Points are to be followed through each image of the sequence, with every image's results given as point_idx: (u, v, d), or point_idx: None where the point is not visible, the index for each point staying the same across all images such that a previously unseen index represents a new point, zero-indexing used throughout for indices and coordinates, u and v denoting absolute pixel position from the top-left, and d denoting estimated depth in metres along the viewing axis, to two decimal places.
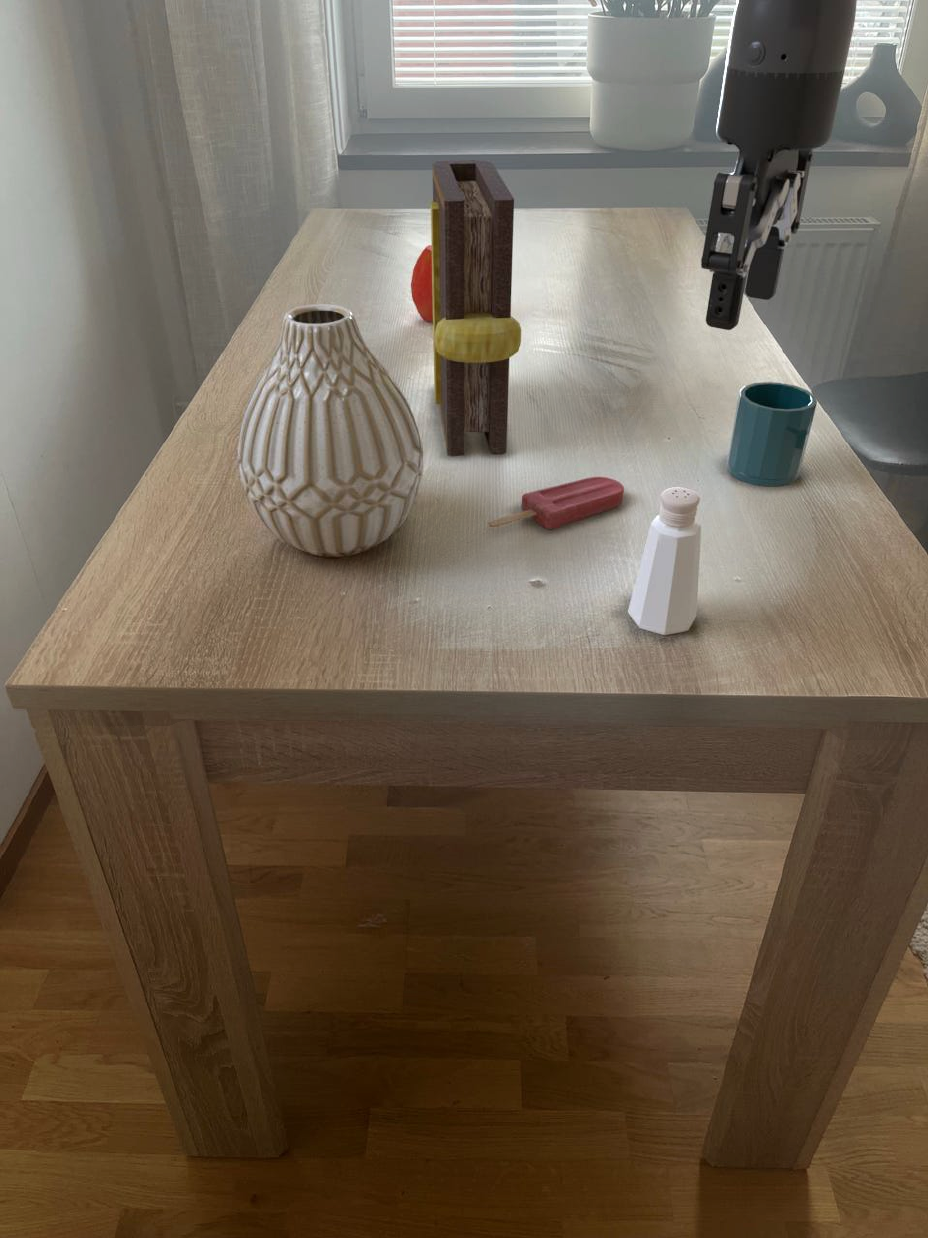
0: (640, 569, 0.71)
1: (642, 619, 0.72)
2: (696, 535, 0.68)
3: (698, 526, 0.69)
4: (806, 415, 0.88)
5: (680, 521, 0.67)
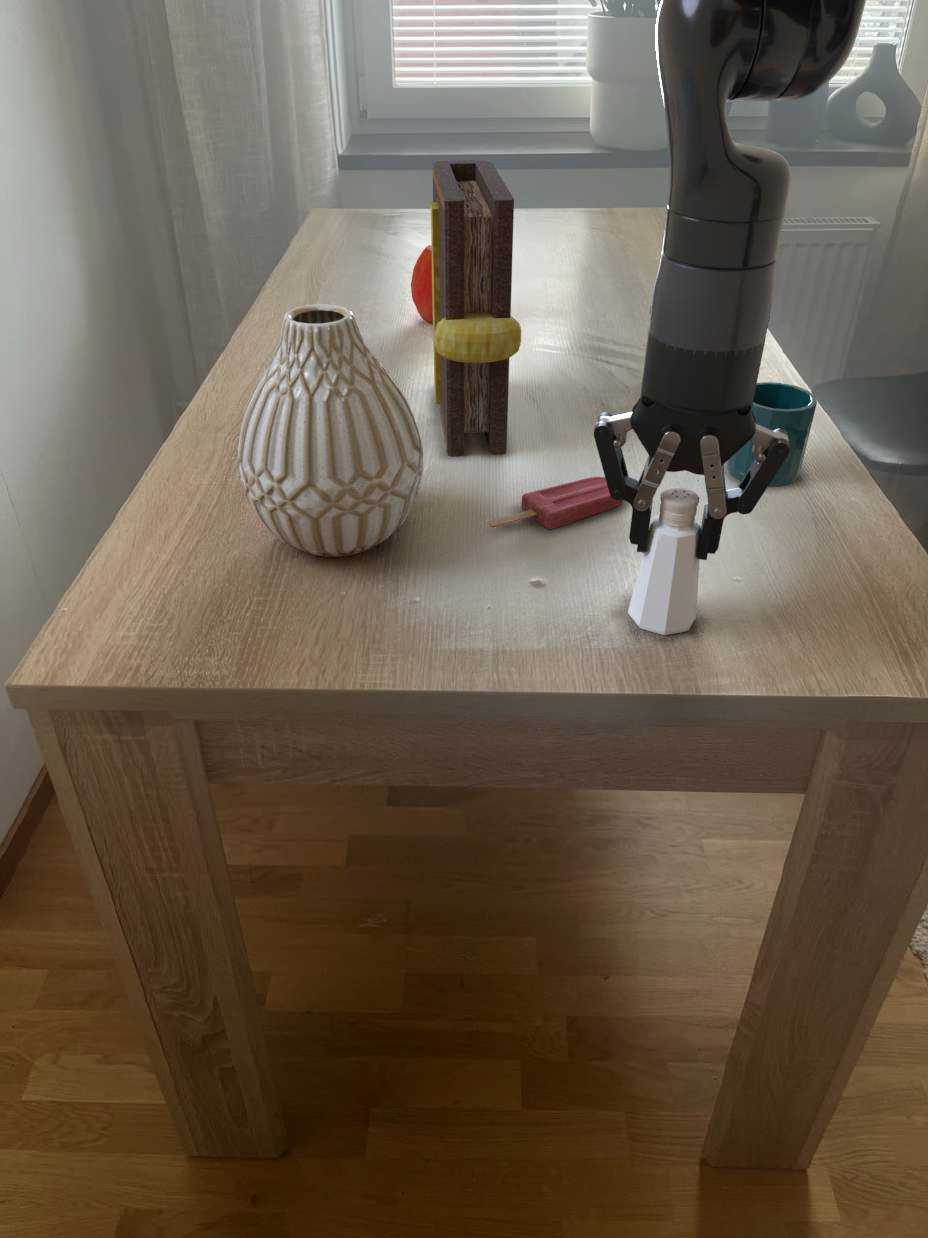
0: (640, 569, 0.71)
1: (642, 619, 0.72)
2: (696, 535, 0.68)
3: (698, 526, 0.69)
4: (806, 415, 0.88)
5: (680, 520, 0.67)
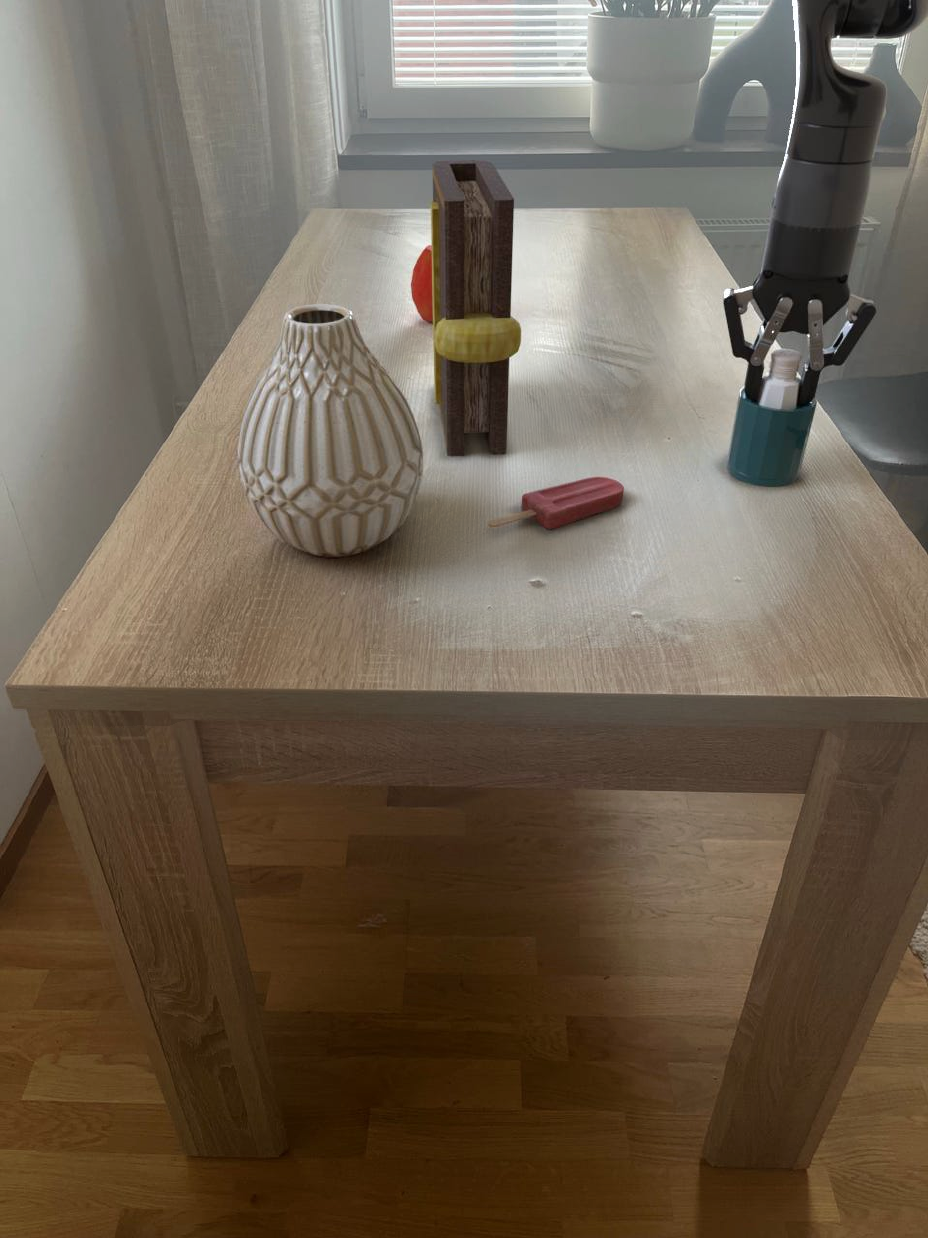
0: None
1: None
2: (798, 385, 0.88)
3: (799, 379, 0.88)
4: (806, 415, 0.88)
5: (787, 373, 0.87)
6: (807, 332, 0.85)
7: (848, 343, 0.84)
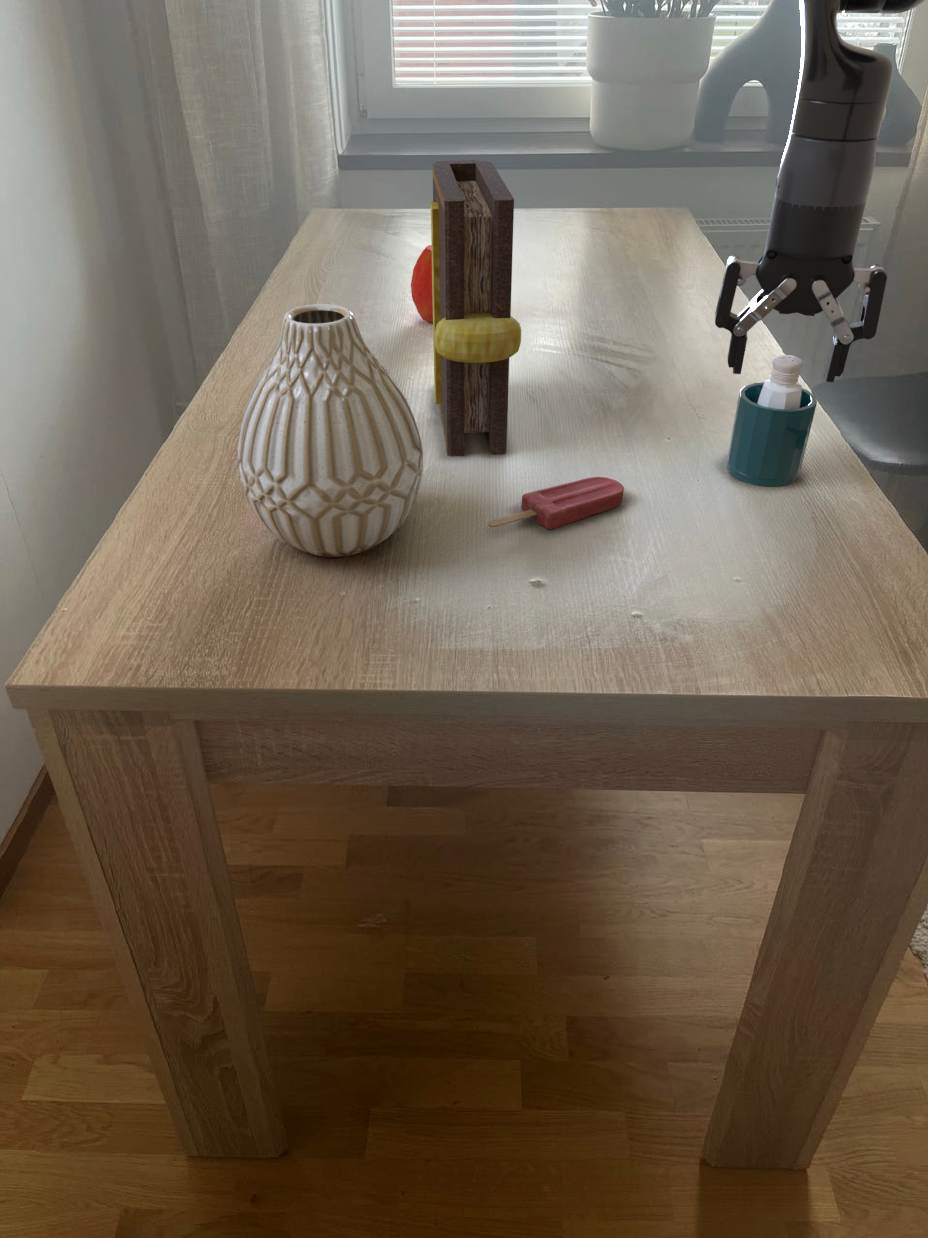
0: None
1: None
2: (799, 391, 0.88)
3: (800, 385, 0.89)
4: (806, 415, 0.88)
5: (789, 379, 0.87)
6: (811, 314, 0.84)
7: (872, 314, 0.83)
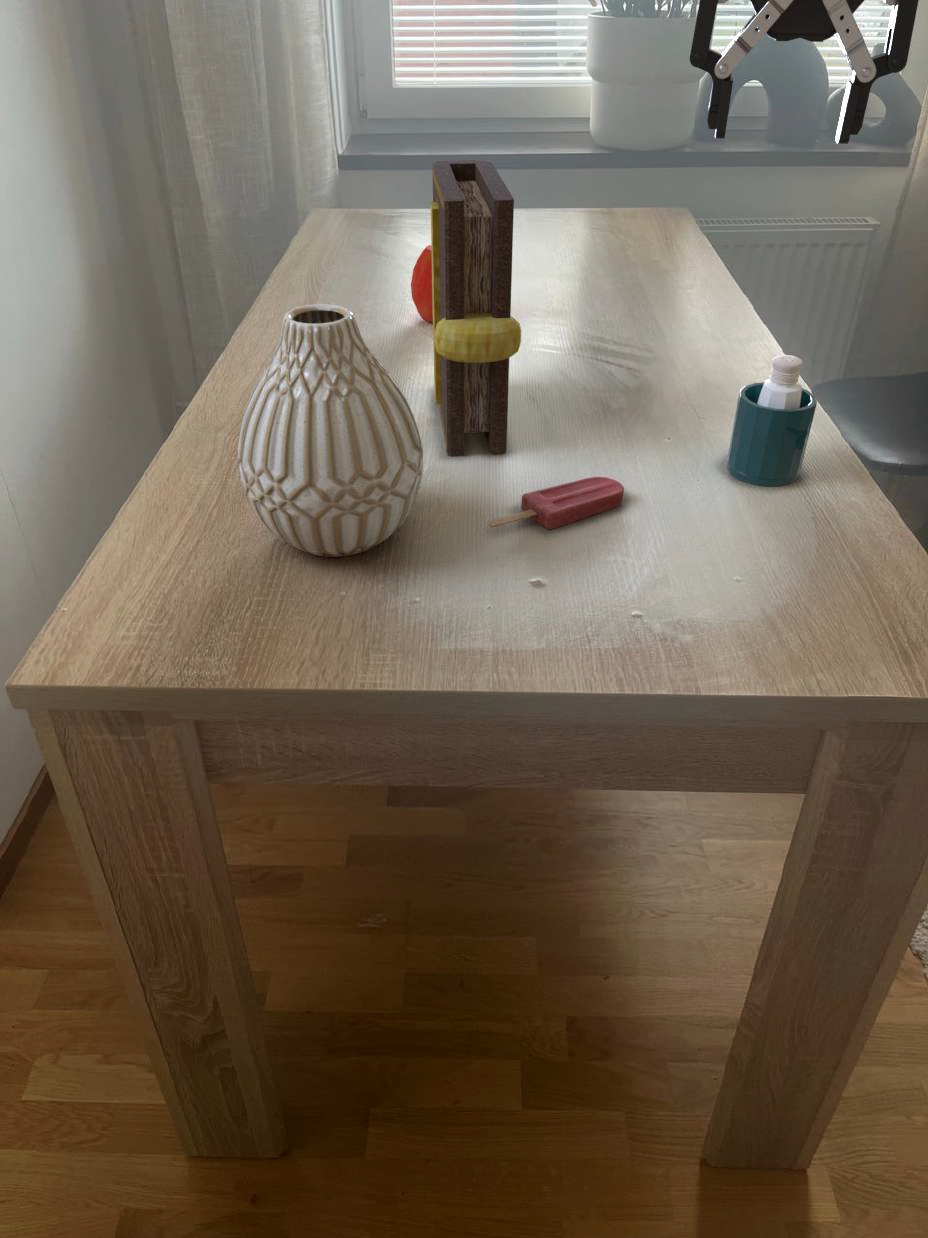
0: None
1: None
2: (799, 391, 0.88)
3: (800, 385, 0.89)
4: (806, 415, 0.88)
5: (789, 379, 0.87)
6: (819, 38, 0.62)
7: (902, 33, 0.61)
